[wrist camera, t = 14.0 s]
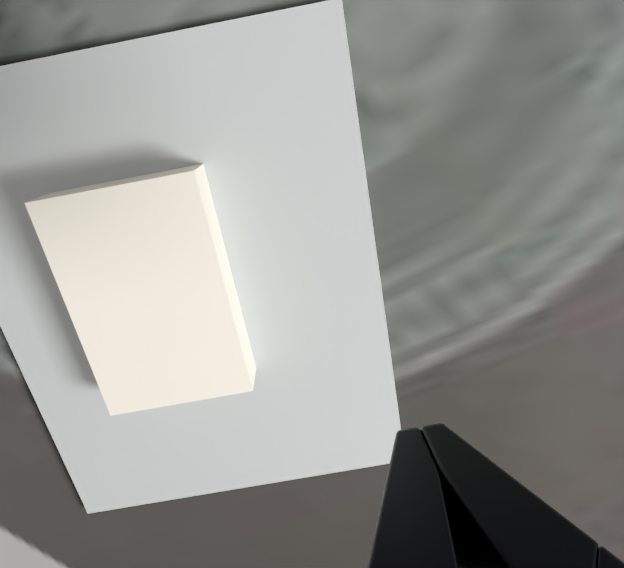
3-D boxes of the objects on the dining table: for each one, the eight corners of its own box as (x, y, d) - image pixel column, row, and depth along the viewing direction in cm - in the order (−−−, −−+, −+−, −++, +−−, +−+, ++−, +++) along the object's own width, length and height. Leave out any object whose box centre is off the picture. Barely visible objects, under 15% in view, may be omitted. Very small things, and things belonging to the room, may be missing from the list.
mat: (403, 455, 24) (405, 460, 24) (90, 507, 25) (87, 513, 24) (340, -1, 17) (341, -3, 16) (-103, 88, 17) (-111, 88, 17)
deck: (252, 391, 20) (110, 415, 20) (256, 367, 21) (124, 390, 22) (194, 170, 17) (24, 203, 17) (203, 163, 18) (49, 193, 18)
